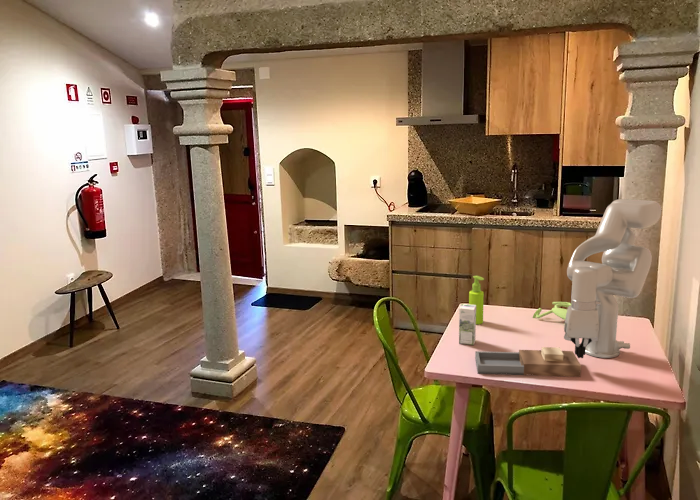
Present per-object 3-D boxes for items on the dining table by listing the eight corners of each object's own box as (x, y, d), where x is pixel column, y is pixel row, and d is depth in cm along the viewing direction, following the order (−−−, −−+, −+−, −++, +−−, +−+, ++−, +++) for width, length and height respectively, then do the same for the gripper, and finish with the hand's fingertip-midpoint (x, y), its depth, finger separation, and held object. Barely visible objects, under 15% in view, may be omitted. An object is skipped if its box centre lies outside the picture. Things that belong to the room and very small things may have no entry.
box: (518, 360, 205) (519, 352, 205) (523, 375, 194) (524, 366, 193) (475, 359, 207) (475, 351, 207) (477, 373, 196) (477, 365, 195)
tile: (559, 354, 200) (559, 347, 199) (563, 361, 194) (563, 354, 193) (541, 353, 200) (541, 347, 200) (544, 360, 195) (544, 354, 194)
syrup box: (475, 340, 225) (476, 304, 222) (473, 345, 219) (474, 309, 216) (460, 338, 227) (461, 303, 224) (458, 344, 221) (459, 307, 218)
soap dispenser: (476, 326, 239) (477, 279, 235) (465, 321, 245) (466, 275, 241) (487, 323, 242) (488, 277, 237) (476, 318, 248) (477, 273, 243)
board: (572, 361, 203) (572, 351, 202) (580, 376, 191) (581, 365, 190) (518, 360, 205) (519, 349, 204) (523, 375, 194) (524, 363, 193)
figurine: (559, 309, 257) (560, 297, 256) (609, 328, 234) (610, 314, 233) (527, 316, 250) (527, 304, 248) (576, 336, 226) (576, 322, 225)
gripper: (603, 301, 194) (600, 353, 198) (557, 300, 196) (554, 351, 200) (610, 308, 187) (606, 361, 191) (561, 307, 189) (558, 360, 193)
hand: (579, 356), depth 195 cm, fingers closed
